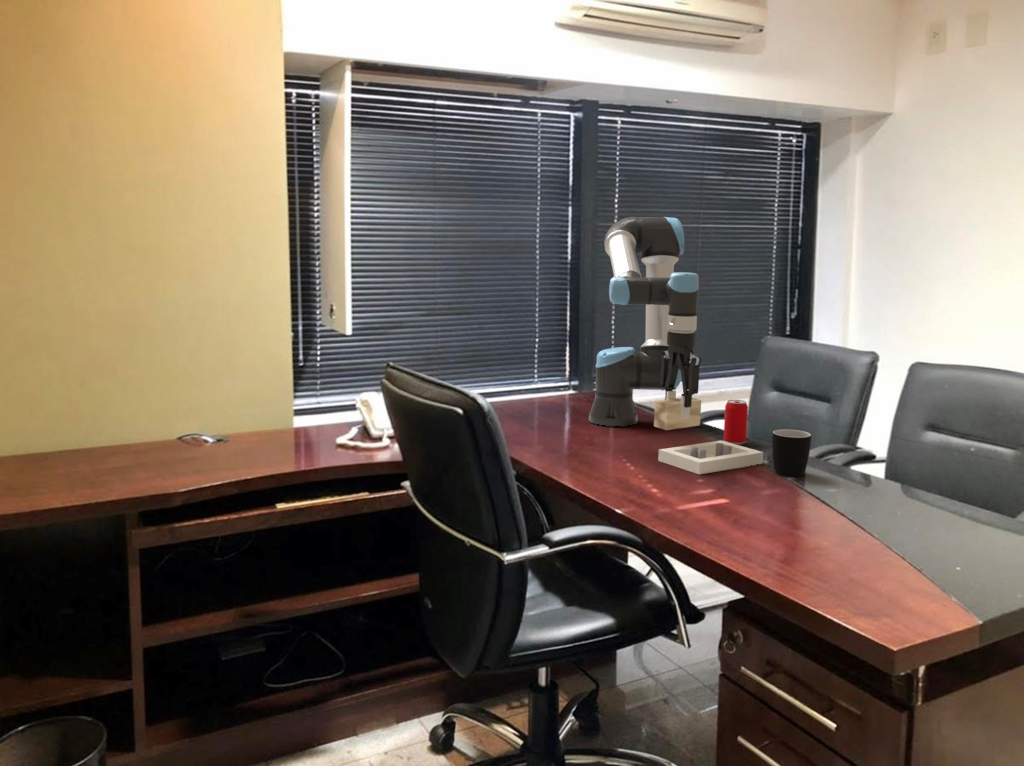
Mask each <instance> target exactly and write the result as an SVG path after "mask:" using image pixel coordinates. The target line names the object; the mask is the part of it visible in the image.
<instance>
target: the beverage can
mask: <svg viewBox="0 0 1024 766" xmlns="http://www.w3.org/2000/svg"><path fill="white" fill-rule="evenodd" d="M724 408H725V409H724V422H723V423H724V427H723V441H725V442H728V443H732V444H735V445H739V446H742V445H744V444H745V443H746V442H747V432H748V415H749V413H748V411H749V406H748V404H747V401H746V400H743V399H728V400H727V402H726V404H725V406H724Z"/></svg>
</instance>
